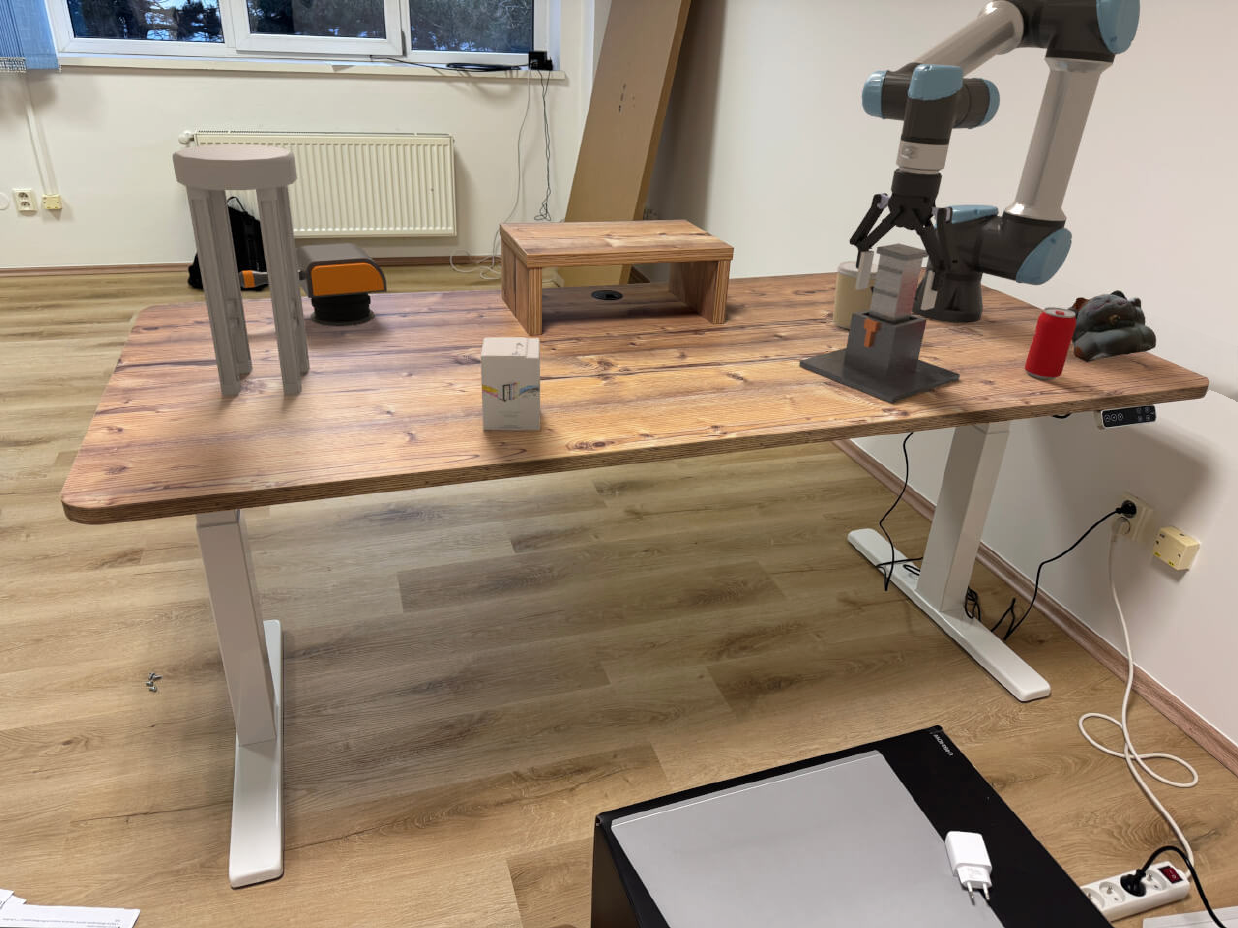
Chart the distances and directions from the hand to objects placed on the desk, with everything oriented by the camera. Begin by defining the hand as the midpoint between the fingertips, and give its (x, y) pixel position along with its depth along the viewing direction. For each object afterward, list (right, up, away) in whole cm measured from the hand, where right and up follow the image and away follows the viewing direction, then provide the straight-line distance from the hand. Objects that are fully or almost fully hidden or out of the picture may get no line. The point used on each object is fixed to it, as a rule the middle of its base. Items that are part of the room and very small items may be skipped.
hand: (893, 298), depth 150 cm
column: (-1, -11, +6) cm, 13 cm away
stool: (-104, -15, -11) cm, 105 cm away
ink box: (-64, -22, -19) cm, 70 cm away
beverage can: (+30, -12, +10) cm, 34 cm away
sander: (-106, -1, +17) cm, 107 cm away
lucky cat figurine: (+47, -8, +21) cm, 52 cm away
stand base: (-1, -12, +6) cm, 14 cm away
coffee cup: (+1, +1, +32) cm, 32 cm away
